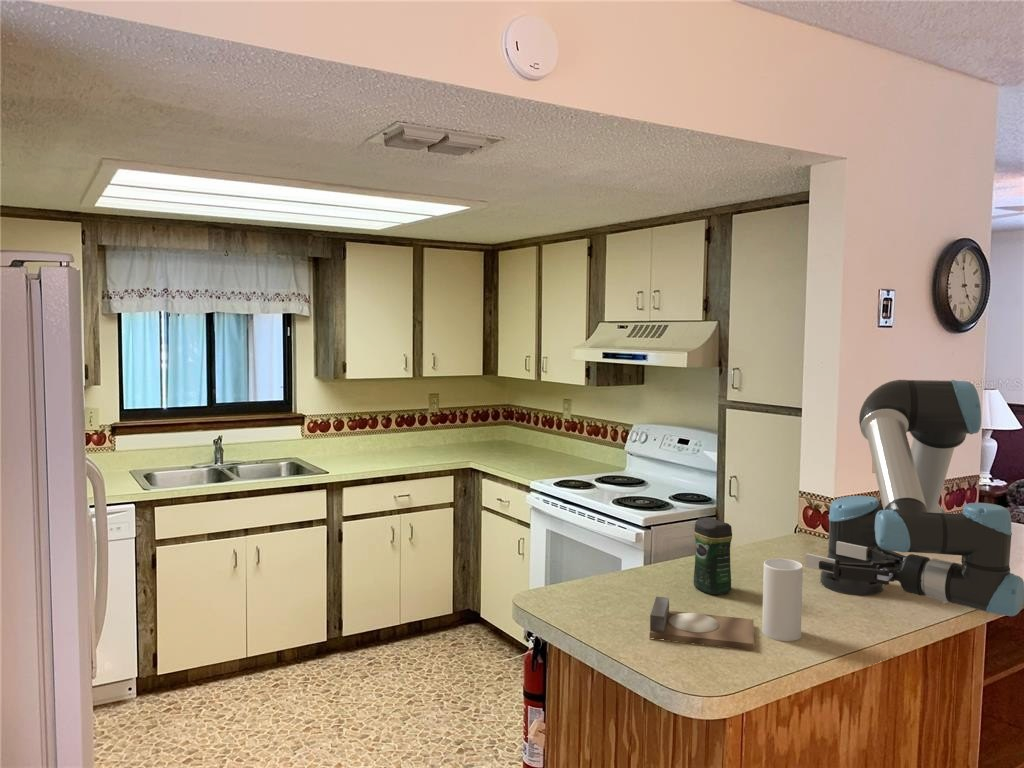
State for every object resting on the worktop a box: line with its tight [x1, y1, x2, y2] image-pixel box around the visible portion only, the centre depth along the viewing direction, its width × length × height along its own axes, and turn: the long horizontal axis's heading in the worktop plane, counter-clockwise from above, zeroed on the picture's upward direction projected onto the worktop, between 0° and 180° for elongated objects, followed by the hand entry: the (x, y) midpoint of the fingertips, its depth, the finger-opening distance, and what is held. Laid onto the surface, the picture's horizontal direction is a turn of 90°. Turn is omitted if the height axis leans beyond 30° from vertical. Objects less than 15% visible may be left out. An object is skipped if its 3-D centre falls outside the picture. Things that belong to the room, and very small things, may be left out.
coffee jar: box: [693, 516, 733, 595], centre depth 200 cm, size 10×8×19 cm
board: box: [649, 596, 755, 651], centre depth 174 cm, size 22×14×5 cm, turn 73°
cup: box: [761, 557, 804, 642], centre depth 172 cm, size 8×8×16 cm
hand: (821, 553), depth 165 cm, fingers open, 13 cm apart
